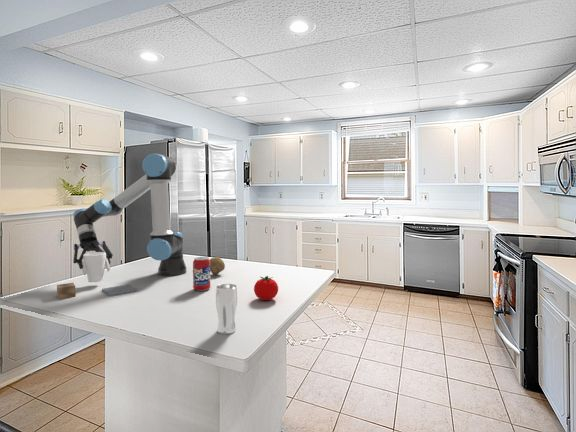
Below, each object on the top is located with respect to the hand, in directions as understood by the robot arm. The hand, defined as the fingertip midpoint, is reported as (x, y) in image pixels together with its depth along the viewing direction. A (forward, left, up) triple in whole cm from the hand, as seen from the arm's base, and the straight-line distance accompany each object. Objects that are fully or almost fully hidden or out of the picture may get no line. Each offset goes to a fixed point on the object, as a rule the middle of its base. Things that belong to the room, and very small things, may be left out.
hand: (97, 271), depth 159 cm
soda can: (-45, +22, -8) cm, 51 cm away
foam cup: (+1, -3, -5) cm, 6 cm away
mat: (-10, +10, -7) cm, 16 cm away
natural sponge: (-57, -3, -8) cm, 58 cm away
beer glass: (-45, +72, -8) cm, 85 cm away
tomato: (-68, +47, -8) cm, 83 cm away
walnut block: (+11, +10, -8) cm, 17 cm away
